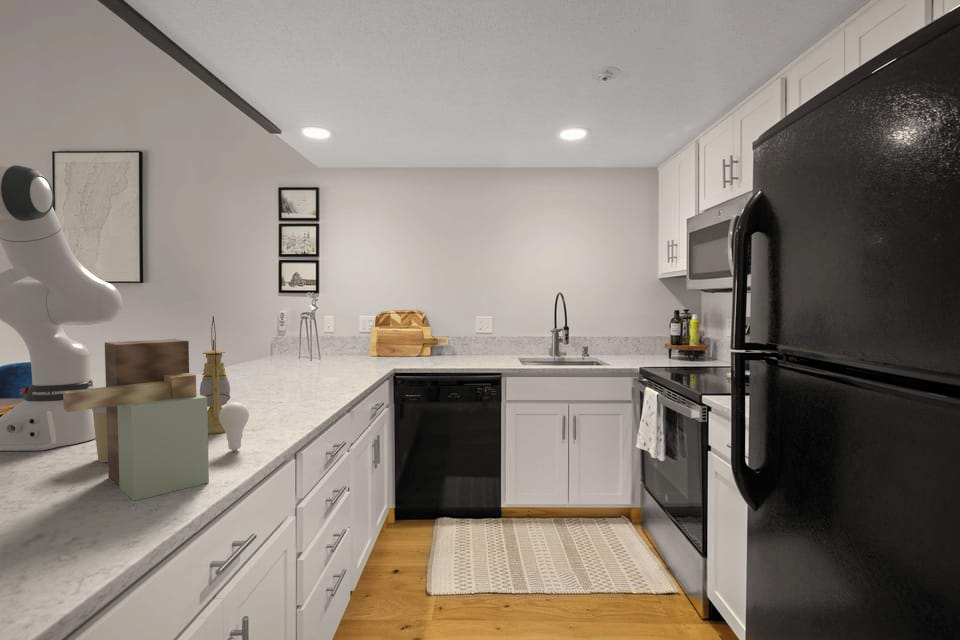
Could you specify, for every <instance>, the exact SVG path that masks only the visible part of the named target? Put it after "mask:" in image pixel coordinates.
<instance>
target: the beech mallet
mask: <svg viewBox="0 0 960 640" xmlns="http://www.w3.org/2000/svg"><path fill="white" fill-rule="evenodd" d="M196 394H197V375H196V374H193V373H190V372H189V373H182V374H172V375H164V381H160V382H150V383H141V384H131V385H121V386H111V387H106V386H102V387H93V388H92V389H82V390H72V391H63V402H64V410H65V411H67V412H72V411H80V410H88V409H96V408H104V407H112V406H120V405H128V404H136V403H144V402H152V401H160V400H168V399H172V400H173V399H181V398H189V397H196Z"/></svg>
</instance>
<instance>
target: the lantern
mask: <svg viewBox="0 0 960 640" xmlns="http://www.w3.org/2000/svg"><path fill="white" fill-rule="evenodd" d="M213 327H214V328H213ZM213 329H214V331H213ZM210 331H211V340H212V344H211V350H205V351H202V354H203V355H205V359H206V361H207V362H204V368H203V373H202V374H201V375H202V378H201V379H202V380H201V382H200V385H199V395H202V396H205V397H207V414H208V435H212V434H213V433H215V434H222V433H226V432H225V430H224V428H223V426H222V425H221V423H220V421H219V413H220V411H221V409H222V408H223V407H224V406H225V405H227V404H228V402H229V401H230V399H231V396H230V394H231V393H230V392H231V386H230V385H231V384H230V381H229V379H228V376H227V372H226V369H225V368H226V367H225V366H224V365H225V363H224V362H223V361H222V357H223V354H225V353H226V351H224V350H219V349H218V350H217V349H216V348H217V343H216V342H217V340H216V338H217V336H216V335H217V334H216V333H217V332H216V324H215V316H214V315H213V316H212V322H211V330H210ZM213 332H214V339H213ZM222 406H223V407H222ZM213 435H214V434H213Z"/></svg>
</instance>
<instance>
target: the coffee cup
mask: <svg viewBox="0 0 960 640" xmlns="http://www.w3.org/2000/svg"><path fill="white" fill-rule="evenodd" d="M92 412H93V418H94V428H95V437H96V438H95V444H96V453H97V461H98V462H99V461H100V462H99V463H101V462H108V444H107V409H106V407H104V408H96V409H92Z"/></svg>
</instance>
